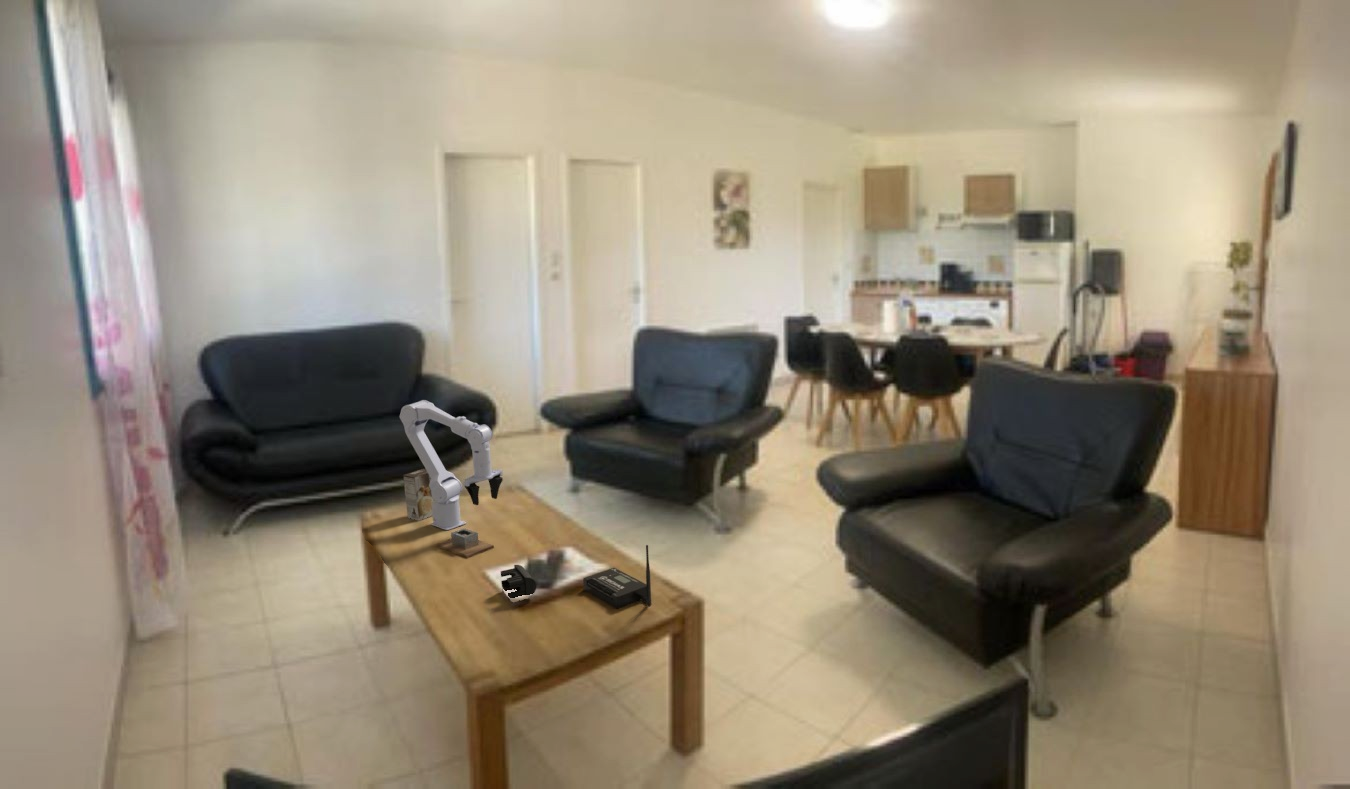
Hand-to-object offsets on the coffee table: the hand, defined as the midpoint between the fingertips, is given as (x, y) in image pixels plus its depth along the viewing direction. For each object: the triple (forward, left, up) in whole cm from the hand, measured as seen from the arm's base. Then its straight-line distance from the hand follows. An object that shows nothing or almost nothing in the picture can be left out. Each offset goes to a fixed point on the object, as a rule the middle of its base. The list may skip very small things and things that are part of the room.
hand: (485, 501), depth 266 cm
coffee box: (-30, -5, -10) cm, 32 cm away
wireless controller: (+71, -10, -11) cm, 72 cm away
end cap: (+48, -26, -10) cm, 55 cm away
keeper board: (+7, -14, -10) cm, 19 cm away
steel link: (+7, -14, -9) cm, 18 cm away
